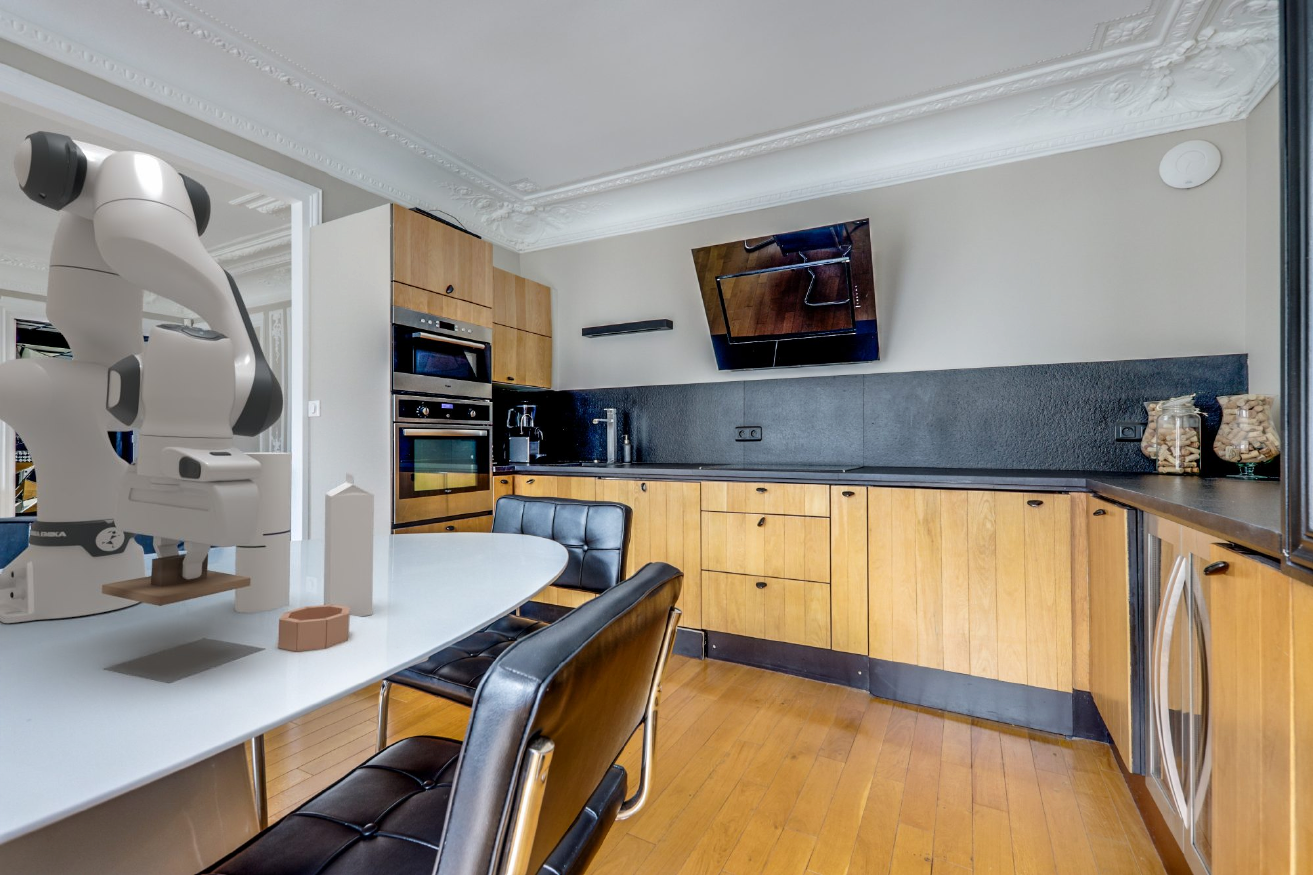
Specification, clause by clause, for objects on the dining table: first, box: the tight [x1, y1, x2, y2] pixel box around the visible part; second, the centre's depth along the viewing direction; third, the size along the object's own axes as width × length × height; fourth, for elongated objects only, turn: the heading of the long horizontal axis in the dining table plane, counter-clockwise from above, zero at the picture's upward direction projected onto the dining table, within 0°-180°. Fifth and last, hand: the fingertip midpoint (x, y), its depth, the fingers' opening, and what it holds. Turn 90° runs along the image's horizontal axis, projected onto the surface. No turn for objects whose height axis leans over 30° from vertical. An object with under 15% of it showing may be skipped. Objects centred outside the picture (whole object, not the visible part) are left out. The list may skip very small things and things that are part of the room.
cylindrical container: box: [234, 452, 293, 613], centre depth 92 cm, size 7×7×25 cm
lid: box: [102, 553, 251, 607], centre depth 70 cm, size 10×10×4 cm
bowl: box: [277, 604, 351, 652], centre depth 77 cm, size 8×8×5 cm
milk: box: [323, 472, 375, 618], centre depth 92 cm, size 6×6×22 cm
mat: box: [103, 637, 266, 684], centre depth 70 cm, size 11×11×1 cm
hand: (180, 575), depth 70 cm, fingers closed on lid, 2 cm apart
